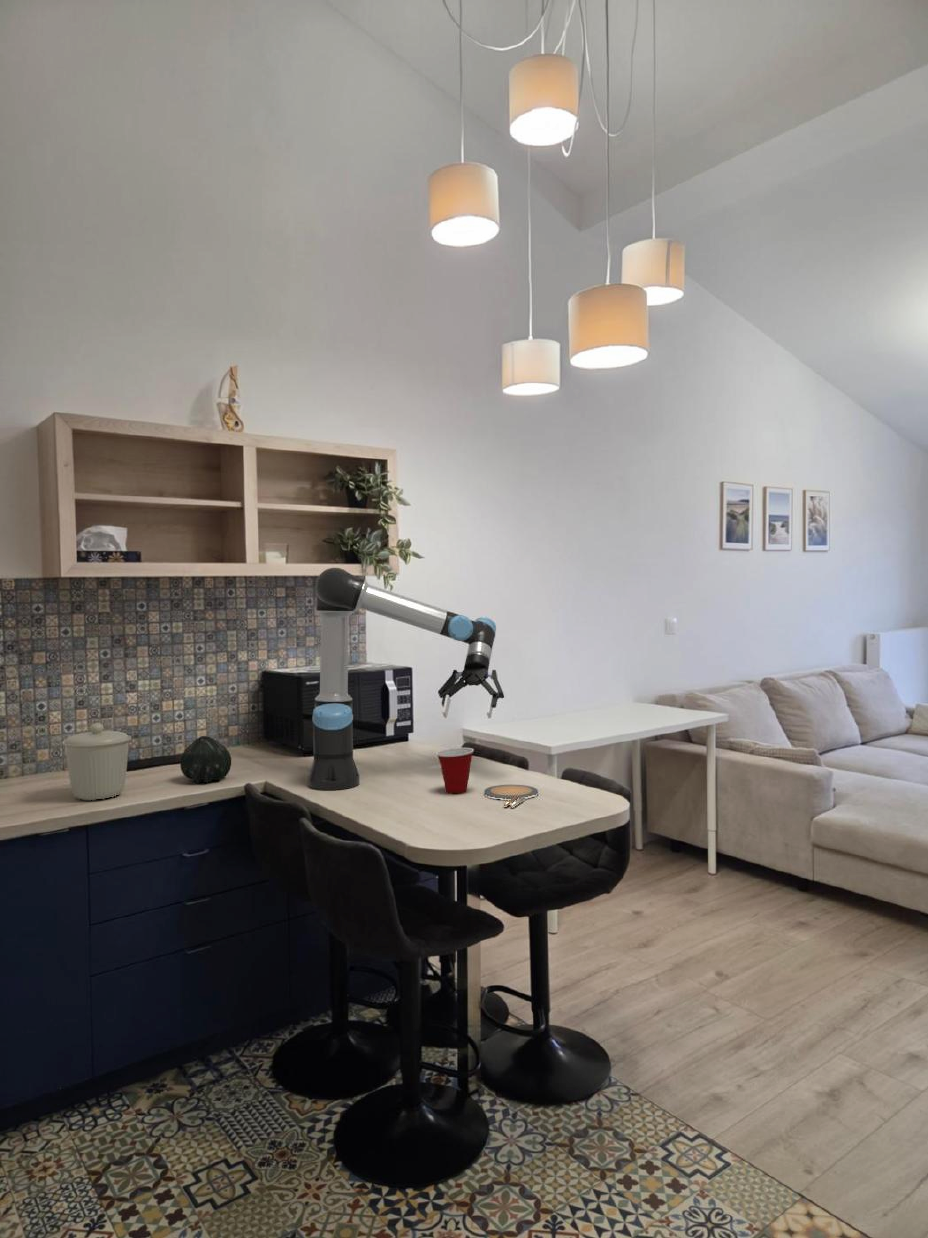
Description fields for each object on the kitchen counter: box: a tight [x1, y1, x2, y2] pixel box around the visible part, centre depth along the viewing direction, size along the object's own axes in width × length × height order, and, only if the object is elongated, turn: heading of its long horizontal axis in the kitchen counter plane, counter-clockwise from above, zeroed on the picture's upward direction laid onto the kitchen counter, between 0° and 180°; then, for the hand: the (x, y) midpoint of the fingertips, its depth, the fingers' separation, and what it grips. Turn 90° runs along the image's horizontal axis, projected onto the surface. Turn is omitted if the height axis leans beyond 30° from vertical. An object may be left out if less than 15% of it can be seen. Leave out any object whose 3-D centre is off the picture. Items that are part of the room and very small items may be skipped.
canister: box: [61, 722, 132, 801], centre depth 242 cm, size 18×18×21 cm
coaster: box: [483, 784, 539, 799], centre depth 237 cm, size 15×15×1 cm
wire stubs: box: [503, 796, 525, 807], centre depth 226 cm, size 9×3×1 cm, turn 156°
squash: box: [180, 735, 232, 783], centre depth 261 cm, size 14×15×15 cm
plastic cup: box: [435, 747, 475, 794], centre depth 241 cm, size 11×11×12 cm
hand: (466, 715), depth 251 cm, fingers open, 13 cm apart
